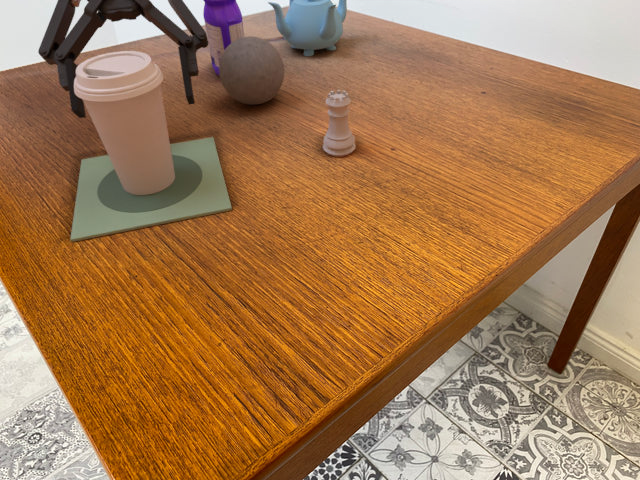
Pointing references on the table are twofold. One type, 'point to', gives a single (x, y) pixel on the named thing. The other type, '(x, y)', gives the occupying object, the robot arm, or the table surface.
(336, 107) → the rook chess piece
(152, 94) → the coffee cup
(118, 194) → the mat
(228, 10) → the bottle
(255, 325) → the table surface
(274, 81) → the decorative ball
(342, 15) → the teapot
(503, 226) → the table surface
